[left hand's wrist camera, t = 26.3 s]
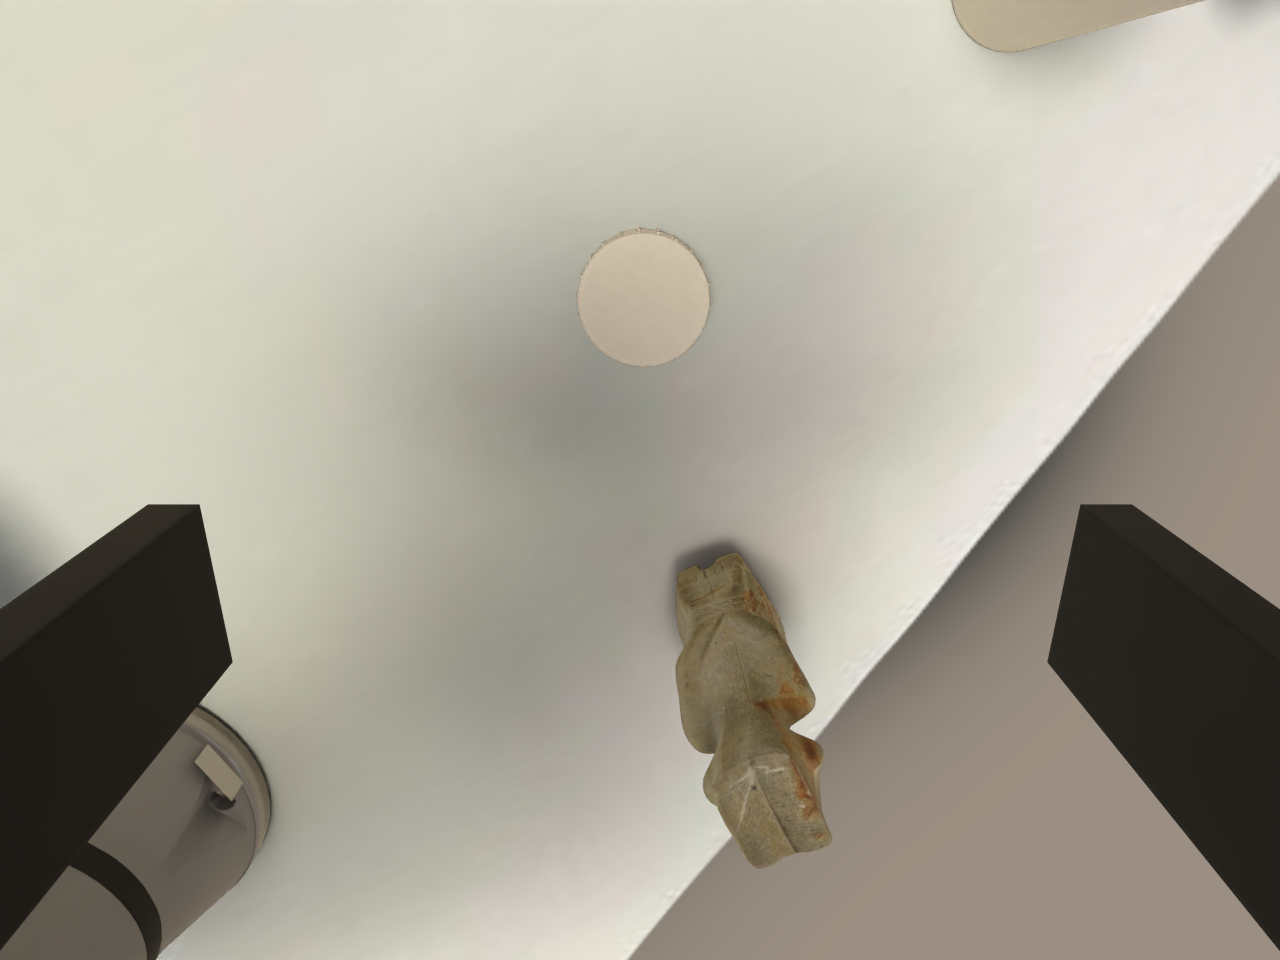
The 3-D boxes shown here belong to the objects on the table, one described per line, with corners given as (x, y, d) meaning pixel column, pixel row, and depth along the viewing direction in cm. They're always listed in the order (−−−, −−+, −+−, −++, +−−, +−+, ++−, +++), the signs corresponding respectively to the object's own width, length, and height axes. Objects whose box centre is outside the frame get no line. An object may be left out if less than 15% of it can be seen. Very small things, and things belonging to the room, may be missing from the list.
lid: (701, 361, 39) (704, 372, 37) (576, 352, 39) (572, 363, 37) (714, 232, 37) (718, 237, 35) (581, 222, 37) (578, 226, 35)
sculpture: (695, 671, 46) (719, 899, 32) (651, 560, 43) (657, 754, 29) (797, 640, 45) (868, 859, 31) (759, 526, 42) (817, 708, 28)
